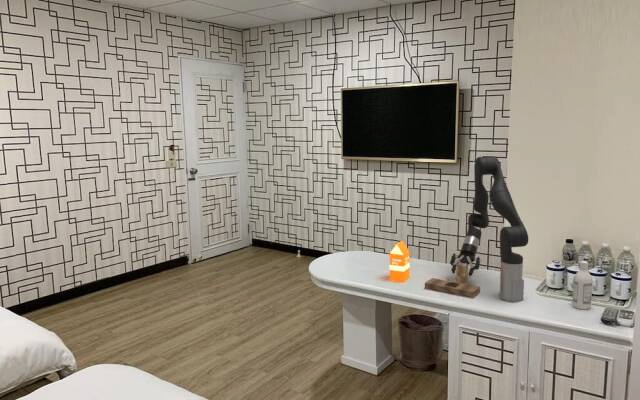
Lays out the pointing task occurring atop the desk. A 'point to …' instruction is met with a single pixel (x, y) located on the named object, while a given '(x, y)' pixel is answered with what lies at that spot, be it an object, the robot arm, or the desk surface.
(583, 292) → the bath foam
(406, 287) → the desk surface
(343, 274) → the desk surface
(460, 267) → the tan cylinder
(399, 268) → the orange juice
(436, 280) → the brown wooden slotted board
